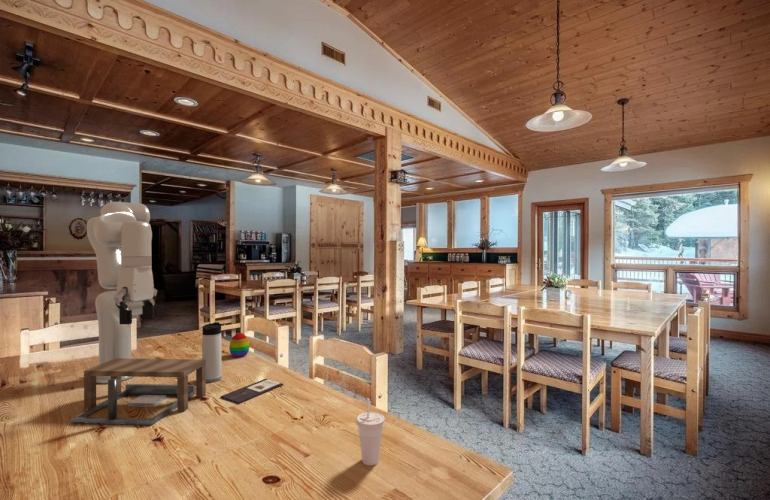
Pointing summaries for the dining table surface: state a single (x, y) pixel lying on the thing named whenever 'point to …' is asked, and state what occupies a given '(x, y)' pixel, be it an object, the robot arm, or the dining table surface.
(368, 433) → the smoothie
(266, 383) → the chocolate bar
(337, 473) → the dining table surface
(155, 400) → the pale grey flat block
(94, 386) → the small wooden bench
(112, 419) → the grey metal frame
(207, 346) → the travel mug
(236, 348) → the decorative egg
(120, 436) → the dining table surface
